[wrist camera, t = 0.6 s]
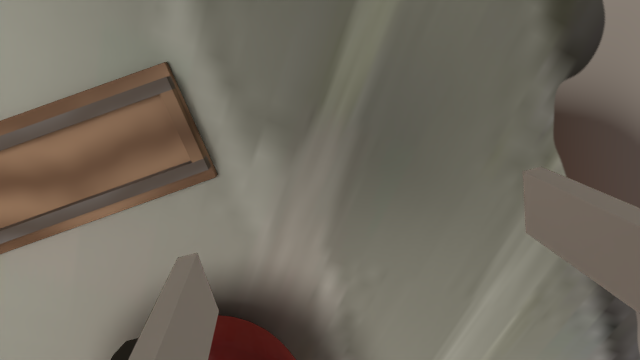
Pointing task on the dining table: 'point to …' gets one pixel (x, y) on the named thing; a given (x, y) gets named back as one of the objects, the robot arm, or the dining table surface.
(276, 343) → the mixing bowl
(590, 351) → the dining table surface
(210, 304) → the robot arm
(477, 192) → the dining table surface
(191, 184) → the tray
